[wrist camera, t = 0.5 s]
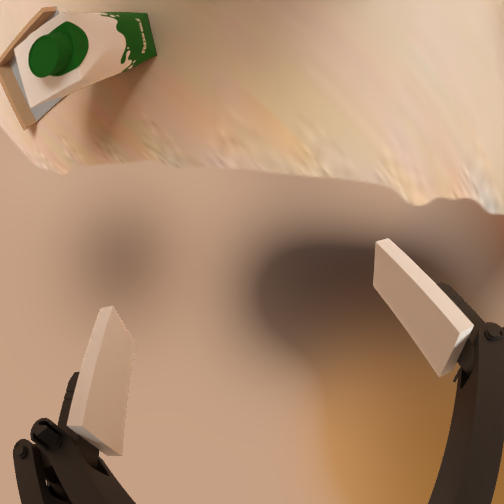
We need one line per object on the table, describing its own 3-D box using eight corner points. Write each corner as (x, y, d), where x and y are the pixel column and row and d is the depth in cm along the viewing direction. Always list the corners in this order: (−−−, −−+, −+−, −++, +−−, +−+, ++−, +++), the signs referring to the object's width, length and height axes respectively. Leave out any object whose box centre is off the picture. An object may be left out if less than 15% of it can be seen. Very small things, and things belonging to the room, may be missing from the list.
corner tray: (6, 61, 29) (-7, 66, 26) (56, 6, 24) (42, 7, 21) (35, 123, 38) (23, 130, 36) (88, 77, 33) (75, 82, 31)
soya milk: (164, 58, 32) (73, 89, 17) (111, 77, 34) (14, 124, 19) (152, 5, 26) (51, 2, 11) (98, 28, 28) (-6, 52, 13)
